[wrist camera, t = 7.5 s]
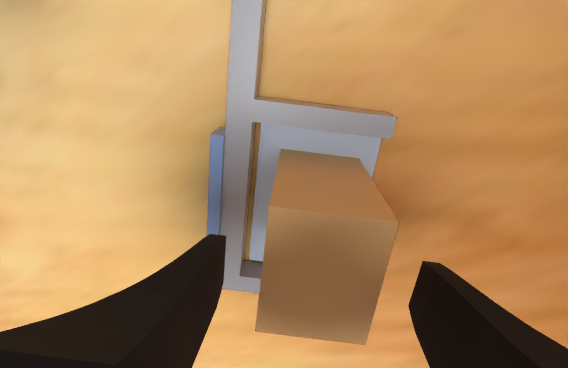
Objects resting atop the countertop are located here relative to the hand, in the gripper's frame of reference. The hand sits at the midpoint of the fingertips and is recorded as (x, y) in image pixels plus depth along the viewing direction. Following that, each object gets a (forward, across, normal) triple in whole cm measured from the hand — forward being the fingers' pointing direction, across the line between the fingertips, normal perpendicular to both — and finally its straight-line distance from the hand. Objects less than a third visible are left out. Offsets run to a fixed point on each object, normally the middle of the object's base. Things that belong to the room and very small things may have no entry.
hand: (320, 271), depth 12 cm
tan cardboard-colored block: (+6, 0, 0) cm, 6 cm away
